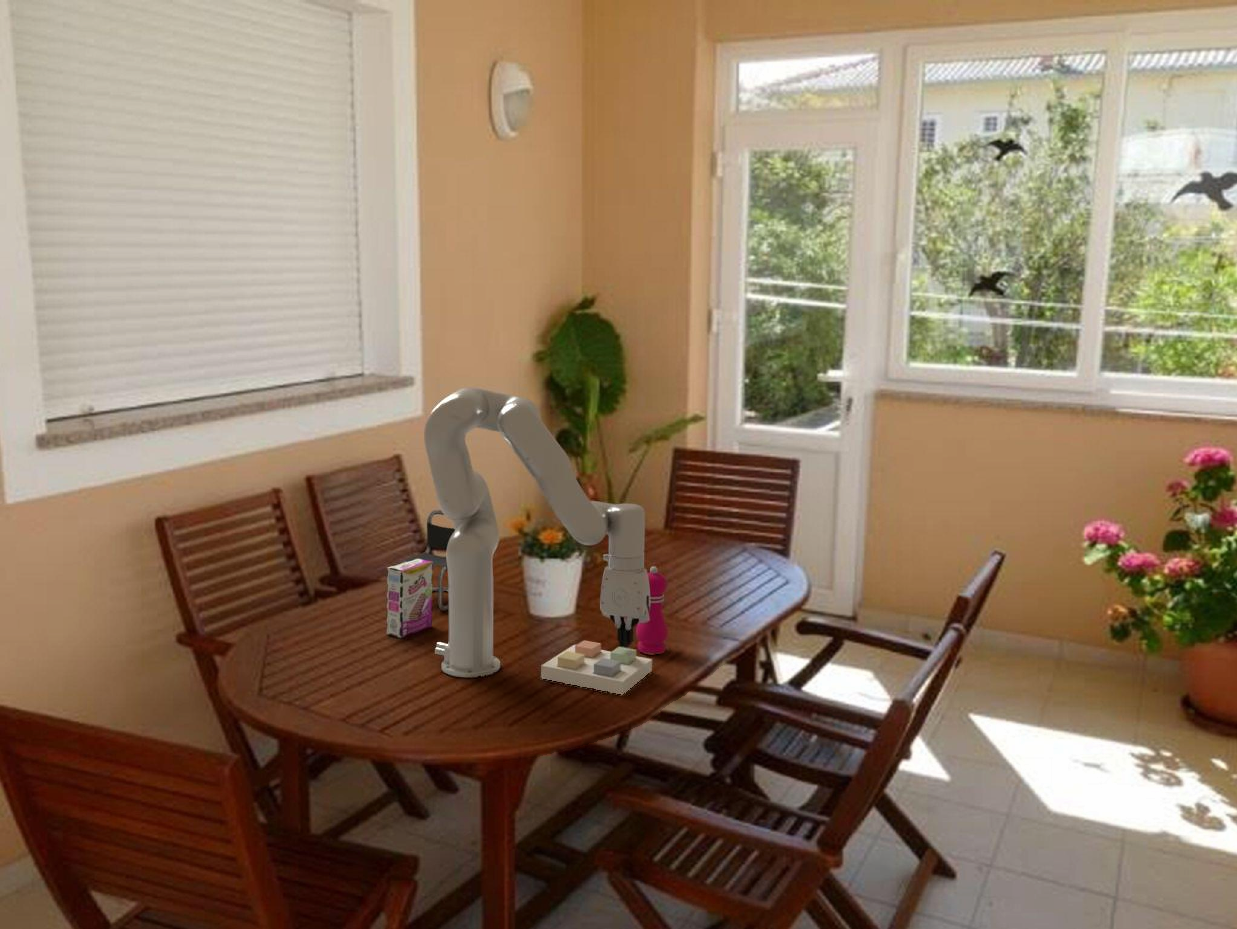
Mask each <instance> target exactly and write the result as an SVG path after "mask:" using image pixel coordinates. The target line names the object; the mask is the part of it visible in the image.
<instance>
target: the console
mask: <svg viewBox="0 0 1237 929" xmlns="http://www.w3.org/2000/svg"><path fill="white" fill-rule="evenodd" d="M576 645H577V644H573V645H571V646H570V647H568V648H566V649H565V650H564V651H562V652H561V653H559V654H557V655H555V656H554V657H553V658H551V659H550V660H548V661H546V662H545V663H543V664H541V666H540V667H541V668H540V669H541V670H540V679H541V678H542V679H541V680H543V679H547V680H546V681H548V680H552V681H551V682H553V681H557V682H563V683H565V684H564V685H567V684H571V685H570V686H572V685H577V686H580V687H579V688H582V687H587V688H594V689H596V690H595V691H597V690H601V691H600V692H602V691H608V692H610V693H609V694H612V693H616V694H615V695H617V694H621V695H620V696H622V695H623V694H624V693H625V694H626V692H627V691H628V690H629V691H630V690H631V689H630V688H632V687H633V686H634V685H635V684H637V682H639V681H640V680H641V679H643V678H644V677H645V676H646V675H647V674H648V673H650V672H651V671H652V672H653V670H652V669H653V658H648V657H642V656H637V655H636V660H635V661H634V662H633V663H631V664H630V665H624V664H621V672H619V673H618V674H617V675H615V676H614V677H608V676H602V675H597V674H594V664H595V663H596V662H598V661H599V660H600V659H602V658H606V659H610V653H611V652H612V651H610V650H609V651H608V650H604V649H601V653H600V654H599V655H598V656H596V657H595V658H593V659H592V658H587V657H584V665H583V666H581V667H580V668H579V669H577V670H572V669H567V668H562V667H558V657H559V656H560V655H562V654H563V653H565V652H566V651H569V652H574V653H575V646H576ZM650 674H651V673H650ZM645 678H646V677H645ZM645 678H644V679H645ZM644 679H643V680H644ZM557 682H556V683H557ZM640 682H641V681H640ZM640 682H639V683H640ZM637 685H638V684H637ZM577 686H576V687H577ZM635 686H636V685H635ZM635 686H634V687H635ZM634 687H633V688H634ZM587 688H586V689H587ZM633 688H632V689H633ZM629 691H628V692H629ZM628 692H627V693H628ZM625 694H624V695H625ZM624 695H623V696H624Z"/></svg>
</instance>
